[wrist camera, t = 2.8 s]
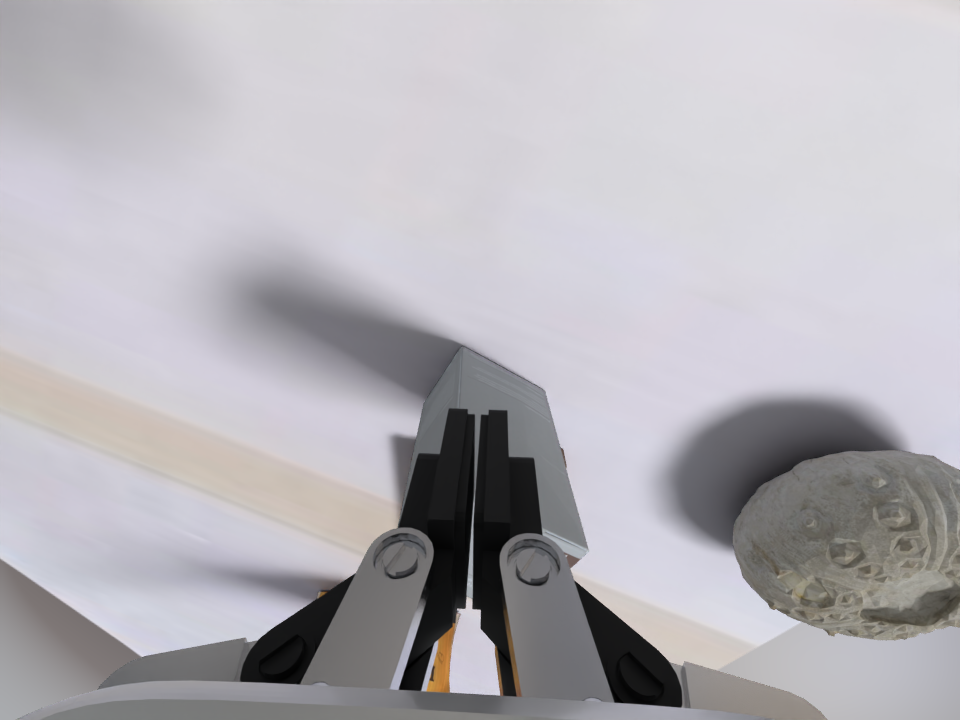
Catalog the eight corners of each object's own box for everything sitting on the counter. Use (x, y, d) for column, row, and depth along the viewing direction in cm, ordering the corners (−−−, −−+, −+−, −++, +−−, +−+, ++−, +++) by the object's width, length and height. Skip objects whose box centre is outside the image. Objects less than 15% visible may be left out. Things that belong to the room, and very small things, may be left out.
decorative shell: (733, 579, 44) (792, 690, 35) (694, 458, 37) (755, 560, 28) (931, 534, 40) (1055, 648, 31) (931, 387, 32) (1092, 481, 24)
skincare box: (423, 399, 35) (371, 572, 21) (468, 334, 32) (440, 486, 18) (508, 444, 37) (511, 631, 23) (557, 386, 34) (595, 561, 20)
